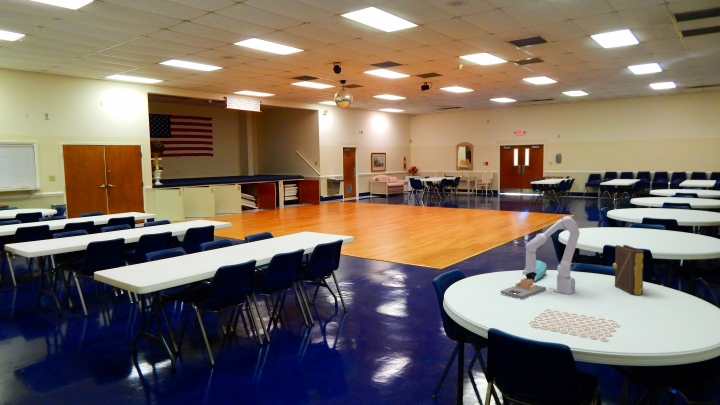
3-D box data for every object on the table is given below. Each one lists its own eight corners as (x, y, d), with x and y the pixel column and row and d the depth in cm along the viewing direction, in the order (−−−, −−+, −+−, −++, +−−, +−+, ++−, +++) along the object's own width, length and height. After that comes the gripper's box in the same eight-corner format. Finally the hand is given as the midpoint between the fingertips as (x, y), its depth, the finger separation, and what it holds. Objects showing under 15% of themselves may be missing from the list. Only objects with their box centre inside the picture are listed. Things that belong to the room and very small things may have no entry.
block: (533, 287, 274) (533, 279, 274) (528, 289, 271) (528, 281, 271) (525, 286, 278) (525, 277, 278) (520, 287, 275) (520, 279, 275)
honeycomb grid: (545, 310, 241) (545, 308, 241) (622, 323, 219) (622, 321, 219) (525, 326, 218) (525, 324, 218) (608, 343, 196) (608, 341, 196)
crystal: (530, 290, 293) (524, 276, 293) (537, 270, 323) (531, 257, 323) (546, 286, 288) (539, 271, 288) (551, 266, 318) (545, 253, 318)
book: (646, 295, 260) (647, 251, 258) (630, 295, 260) (631, 251, 258) (624, 284, 282) (625, 244, 280) (610, 285, 282) (611, 244, 280)
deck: (545, 290, 275) (545, 283, 274) (522, 299, 259) (522, 291, 259) (524, 286, 286) (524, 278, 285) (500, 294, 270) (500, 286, 270)
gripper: (531, 259, 284) (531, 281, 285) (517, 263, 275) (517, 285, 276) (542, 261, 278) (542, 283, 279) (528, 265, 269) (528, 288, 270)
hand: (530, 284), depth 277 cm, fingers closed
